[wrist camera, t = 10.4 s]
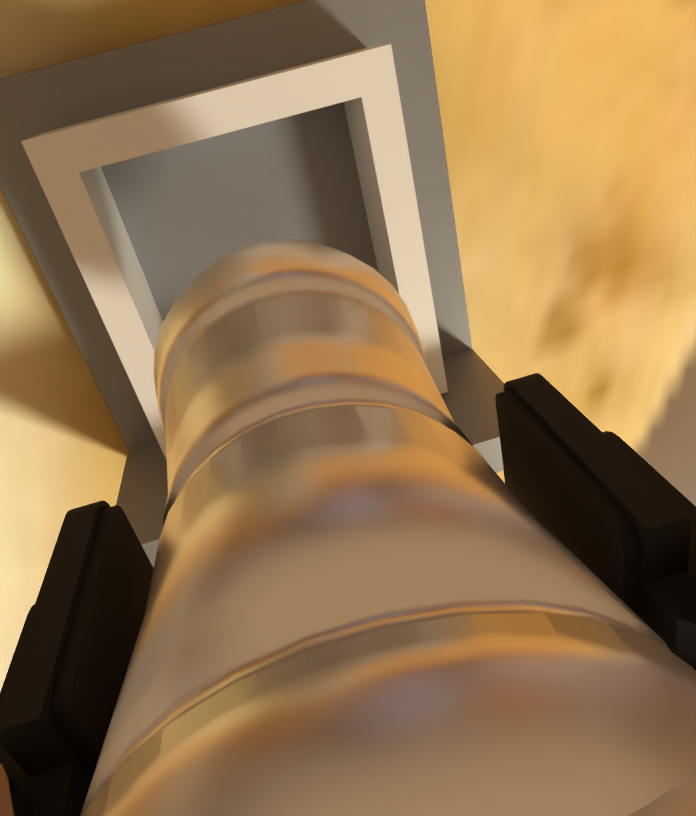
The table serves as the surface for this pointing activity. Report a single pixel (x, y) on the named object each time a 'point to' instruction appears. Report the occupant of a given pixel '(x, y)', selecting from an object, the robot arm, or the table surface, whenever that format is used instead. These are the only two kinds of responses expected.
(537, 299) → the table surface
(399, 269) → the housing
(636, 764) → the plastic bottle
